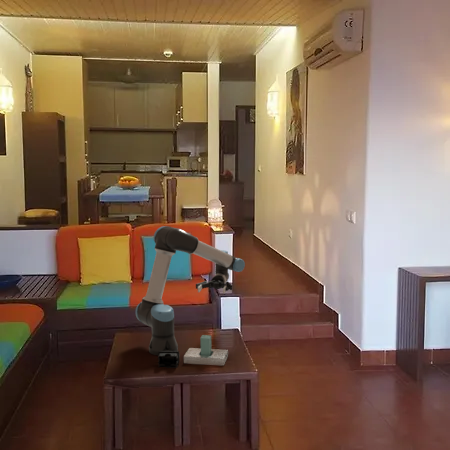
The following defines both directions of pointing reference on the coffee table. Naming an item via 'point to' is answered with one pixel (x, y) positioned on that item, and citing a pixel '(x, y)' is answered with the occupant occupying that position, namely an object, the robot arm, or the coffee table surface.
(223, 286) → the robot arm
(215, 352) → the grey rectangular frame
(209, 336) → the teal post
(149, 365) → the coffee table surface
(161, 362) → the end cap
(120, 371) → the coffee table surface
